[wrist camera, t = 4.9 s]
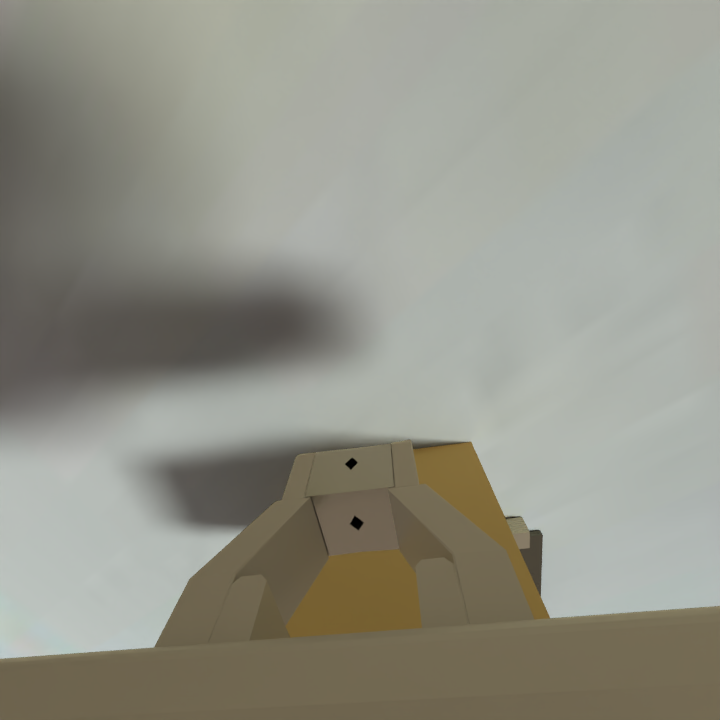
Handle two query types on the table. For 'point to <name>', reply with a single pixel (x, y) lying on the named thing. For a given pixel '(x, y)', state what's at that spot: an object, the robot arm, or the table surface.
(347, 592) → the mustard block
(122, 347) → the table surface
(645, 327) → the table surface
